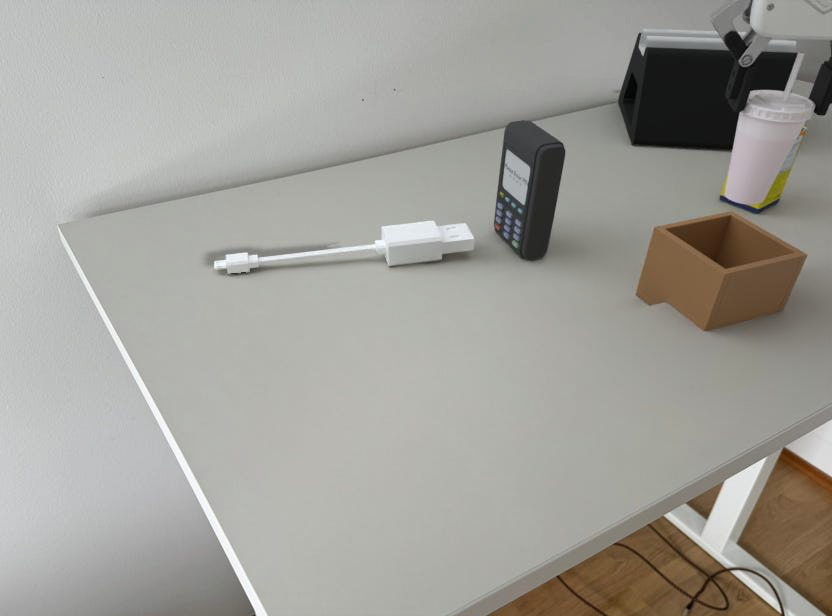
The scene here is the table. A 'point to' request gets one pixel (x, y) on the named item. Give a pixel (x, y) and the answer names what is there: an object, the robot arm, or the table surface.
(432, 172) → the table surface
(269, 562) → the table surface
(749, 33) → the robot arm
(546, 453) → the table surface
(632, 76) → the device stand
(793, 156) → the supplement box
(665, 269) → the open box
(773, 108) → the smoothie
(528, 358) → the table surface
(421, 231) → the charging cable
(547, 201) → the card reader
